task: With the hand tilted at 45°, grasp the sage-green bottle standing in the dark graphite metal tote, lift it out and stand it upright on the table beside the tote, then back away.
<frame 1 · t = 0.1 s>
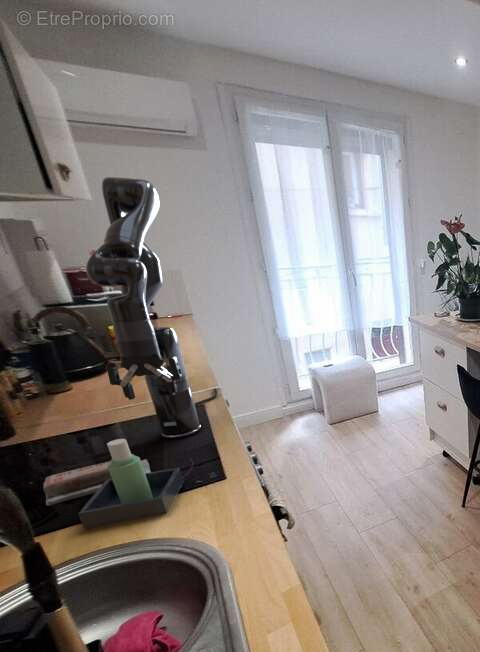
hand: (152, 396, 110), 17 cm above the counter, tool pointing down, fingers open, 8 cm apart
bottle: (138, 503, 94), point 1 cm above the counter, touching tote
packaged product: (102, 484, 102), on the counter
tote: (139, 505, 94), on the counter
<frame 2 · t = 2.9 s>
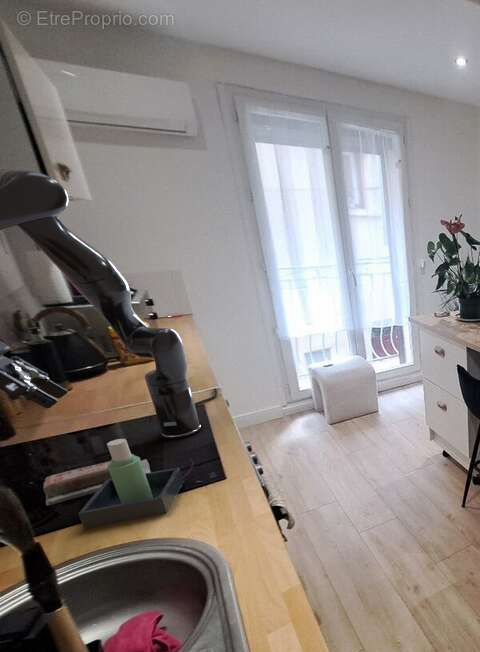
hand: (59, 399, 85), 26 cm above the counter, tool tilted 35°, fingers open, 8 cm apart
nothing on the counter moved.
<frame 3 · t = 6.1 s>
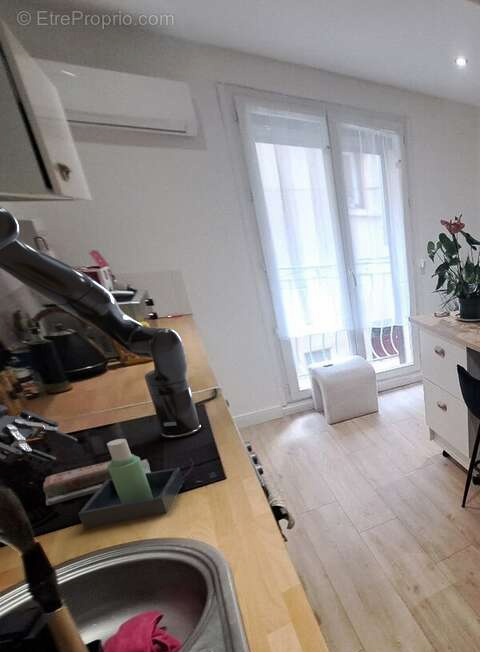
hand: (64, 453, 85), 16 cm above the counter, tool tilted 45°, fingers open, 8 cm apart
nothing on the counter moved.
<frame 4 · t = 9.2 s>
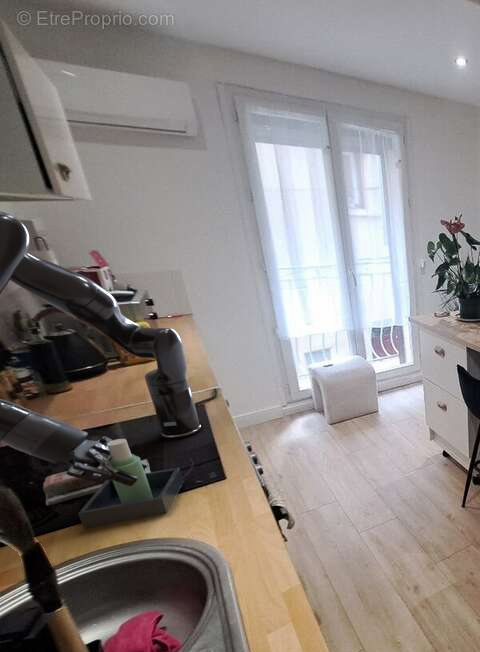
hand: (139, 475, 93), 8 cm above the counter, tool tilted 45°, fingers closed on bottle, 5 cm apart
bottle: (138, 503, 94), point 1 cm above the counter, touching gripper, tote
everything else where it was.
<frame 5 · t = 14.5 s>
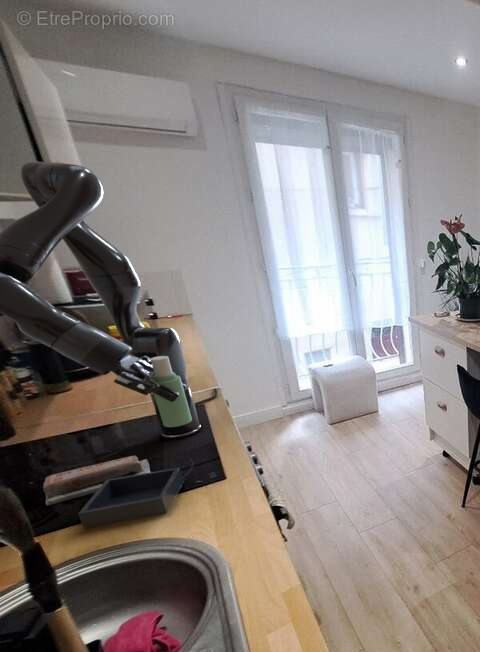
hand: (180, 393, 95), 24 cm above the counter, tool tilted 45°, fingers closed on bottle, 5 cm apart
bottle: (178, 422, 97), point 17 cm above the counter, touching gripper
everything else where it was.
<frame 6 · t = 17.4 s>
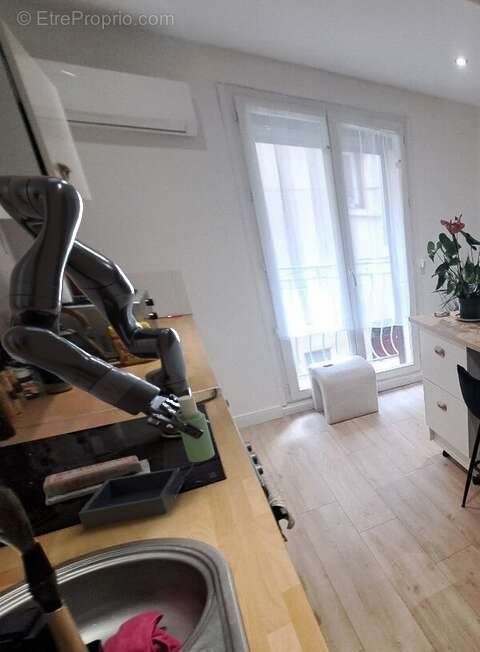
hand: (204, 430, 100), 14 cm above the counter, tool tilted 45°, fingers closed on bottle, 5 cm apart
bottle: (201, 456, 102), point 7 cm above the counter, touching gripper
everything else where it was.
when the fingers open (7 cm above the counter, at t = 19.8 s): bottle stays where it is, on the counter.
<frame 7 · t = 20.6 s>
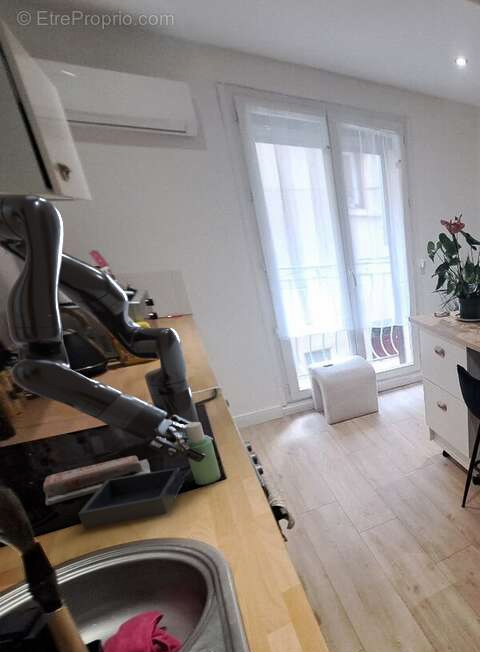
hand: (207, 450, 102), 8 cm above the counter, tool tilted 45°, fingers open, 8 cm apart
bottle: (208, 480, 104), on the counter
everything else where it was.
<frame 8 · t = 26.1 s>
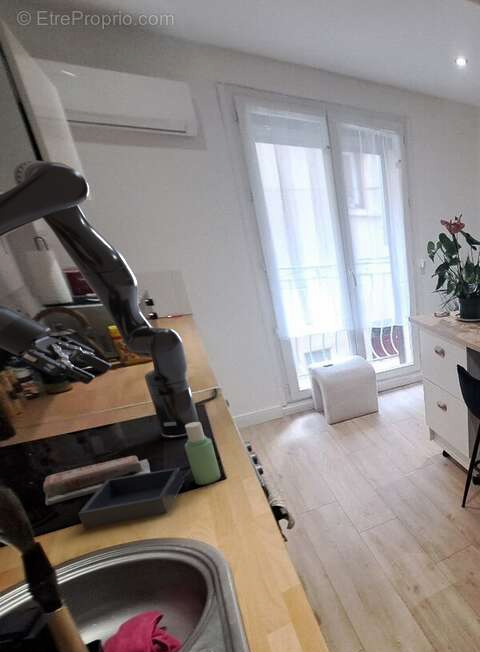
hand: (100, 374, 93), 29 cm above the counter, tool tilted 45°, fingers open, 8 cm apart
nothing on the counter moved.
at the end: bottle inside the target area (0.5 cm from its centre), on the counter; bottle tilted 0°; the gripper is holding nothing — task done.
